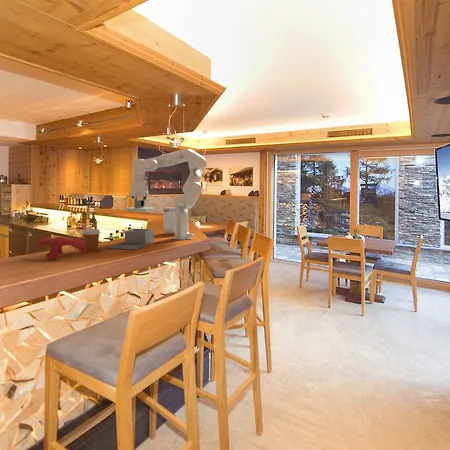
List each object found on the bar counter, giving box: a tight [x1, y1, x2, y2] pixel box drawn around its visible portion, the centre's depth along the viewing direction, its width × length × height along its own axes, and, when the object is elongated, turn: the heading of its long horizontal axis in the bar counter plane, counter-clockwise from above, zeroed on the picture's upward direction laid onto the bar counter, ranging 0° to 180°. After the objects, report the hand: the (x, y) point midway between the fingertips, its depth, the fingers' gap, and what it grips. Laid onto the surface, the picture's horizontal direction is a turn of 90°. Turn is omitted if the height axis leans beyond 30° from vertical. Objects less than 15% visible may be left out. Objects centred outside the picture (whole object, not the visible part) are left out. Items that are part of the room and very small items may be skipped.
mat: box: [106, 242, 149, 251], centre depth 203 cm, size 18×18×1 cm
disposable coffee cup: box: [81, 228, 101, 253], centre depth 188 cm, size 10×10×12 cm
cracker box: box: [163, 206, 175, 236], centre depth 257 cm, size 14×6×21 cm, turn 84°
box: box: [124, 227, 154, 245], centre depth 219 cm, size 14×14×8 cm
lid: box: [123, 199, 155, 213], centre depth 217 cm, size 15×15×7 cm
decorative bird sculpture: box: [32, 236, 87, 261], centre depth 169 cm, size 28×9×15 cm
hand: (139, 206), depth 217 cm, fingers closed on lid, 3 cm apart
